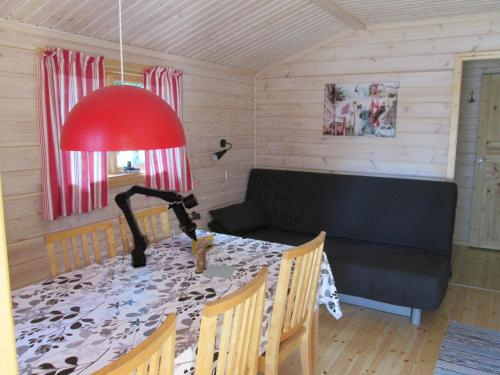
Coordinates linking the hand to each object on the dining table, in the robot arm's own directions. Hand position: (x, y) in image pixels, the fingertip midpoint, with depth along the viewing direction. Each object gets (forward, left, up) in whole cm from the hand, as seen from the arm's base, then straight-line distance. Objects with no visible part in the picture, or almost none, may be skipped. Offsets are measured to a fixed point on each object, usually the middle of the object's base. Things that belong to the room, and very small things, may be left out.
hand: (194, 240), depth 221 cm
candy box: (+15, +21, -14) cm, 29 cm away
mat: (+7, -13, -14) cm, 21 cm away
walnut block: (0, -7, -14) cm, 16 cm away
